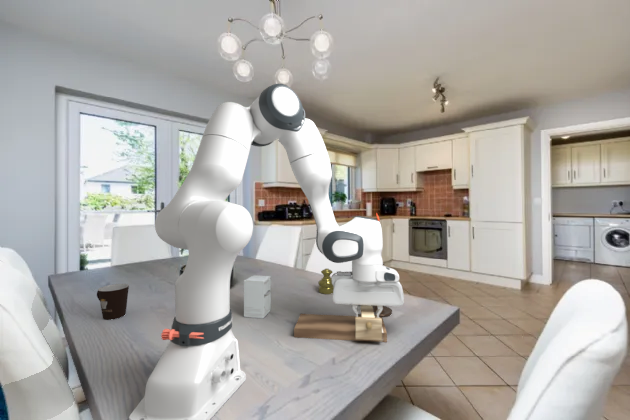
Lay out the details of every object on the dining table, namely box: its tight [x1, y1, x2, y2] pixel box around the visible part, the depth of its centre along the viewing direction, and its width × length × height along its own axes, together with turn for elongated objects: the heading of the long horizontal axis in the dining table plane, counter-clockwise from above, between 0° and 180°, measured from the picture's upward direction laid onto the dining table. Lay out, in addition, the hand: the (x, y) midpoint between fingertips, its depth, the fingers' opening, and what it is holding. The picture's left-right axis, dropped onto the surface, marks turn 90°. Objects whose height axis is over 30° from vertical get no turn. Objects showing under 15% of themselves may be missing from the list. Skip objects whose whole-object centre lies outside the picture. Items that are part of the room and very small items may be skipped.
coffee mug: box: [96, 283, 130, 321], centre depth 97 cm, size 12×9×10 cm
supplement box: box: [243, 275, 272, 319], centre depth 97 cm, size 7×7×13 cm
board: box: [293, 313, 388, 343], centre depth 83 cm, size 11×26×3 cm, turn 83°
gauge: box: [356, 305, 382, 340], centre depth 80 cm, size 12×7×6 cm, turn 173°
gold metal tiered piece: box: [317, 268, 334, 295], centre depth 121 cm, size 7×7×10 cm
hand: (367, 319), depth 81 cm, fingers closed on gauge, 3 cm apart
